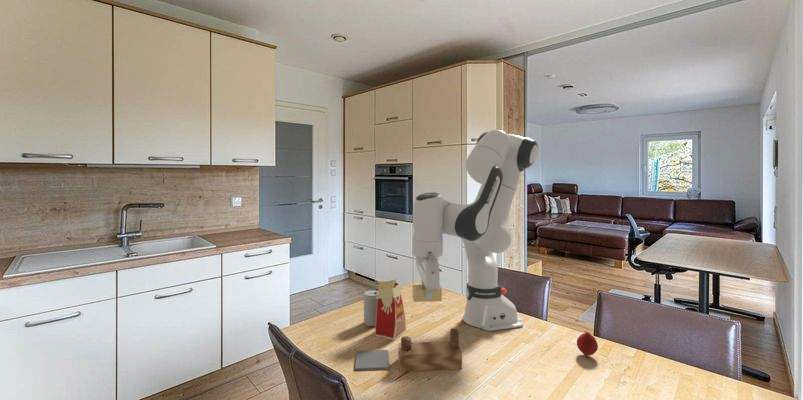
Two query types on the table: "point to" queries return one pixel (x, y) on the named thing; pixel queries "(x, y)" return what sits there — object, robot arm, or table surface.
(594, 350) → the onion
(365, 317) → the beverage can
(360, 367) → the mat
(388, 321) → the milk carton
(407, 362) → the plane body
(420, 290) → the wooden block
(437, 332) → the table surface
